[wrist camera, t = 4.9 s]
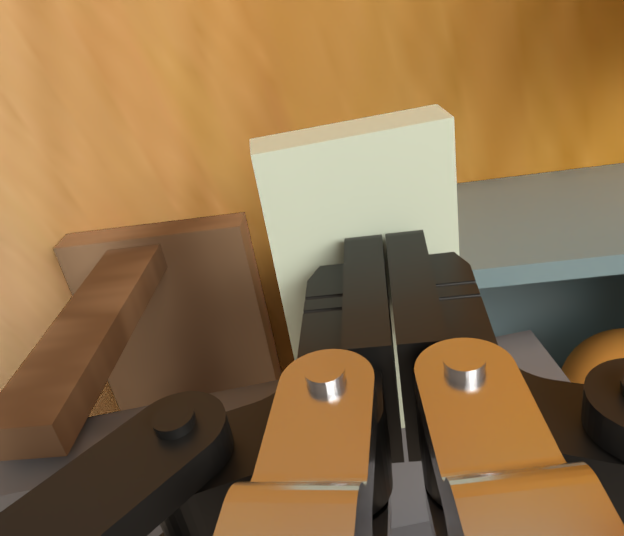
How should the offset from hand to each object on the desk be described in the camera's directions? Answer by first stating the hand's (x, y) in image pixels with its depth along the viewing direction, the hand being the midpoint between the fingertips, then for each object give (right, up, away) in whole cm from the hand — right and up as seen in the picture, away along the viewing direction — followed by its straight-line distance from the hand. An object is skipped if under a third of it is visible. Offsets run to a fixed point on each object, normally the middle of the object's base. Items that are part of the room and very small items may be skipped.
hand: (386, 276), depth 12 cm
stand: (-7, -2, +13) cm, 15 cm away
